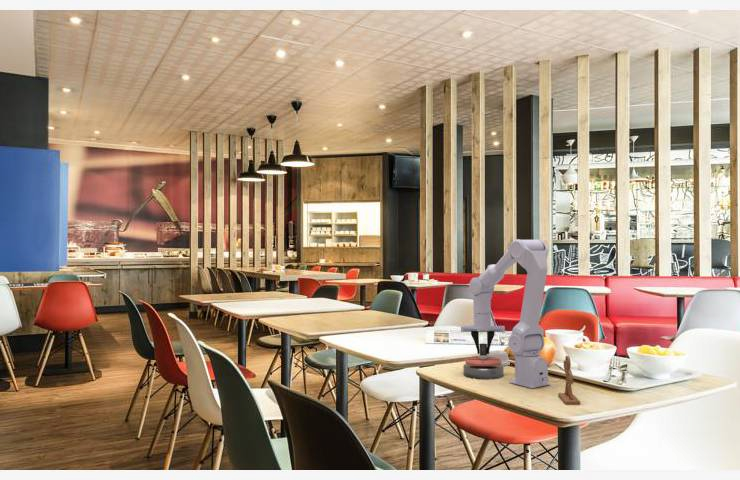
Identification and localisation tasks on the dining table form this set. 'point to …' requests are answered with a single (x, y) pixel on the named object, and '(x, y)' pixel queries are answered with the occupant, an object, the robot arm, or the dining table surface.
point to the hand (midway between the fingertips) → (483, 353)
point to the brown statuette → (568, 396)
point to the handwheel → (483, 358)
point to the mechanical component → (500, 356)
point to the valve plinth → (483, 371)
